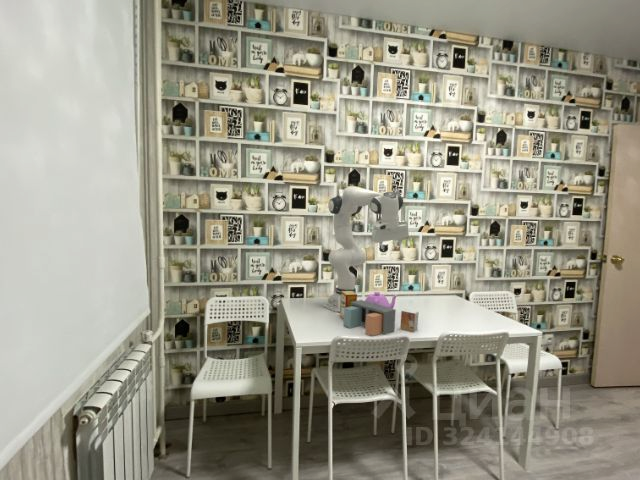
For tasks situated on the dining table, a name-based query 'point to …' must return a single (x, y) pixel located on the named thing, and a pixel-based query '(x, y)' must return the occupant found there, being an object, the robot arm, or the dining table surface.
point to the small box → (409, 320)
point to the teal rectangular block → (352, 316)
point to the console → (372, 308)
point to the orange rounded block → (374, 323)
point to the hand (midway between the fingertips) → (390, 247)
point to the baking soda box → (346, 300)
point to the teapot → (381, 300)
